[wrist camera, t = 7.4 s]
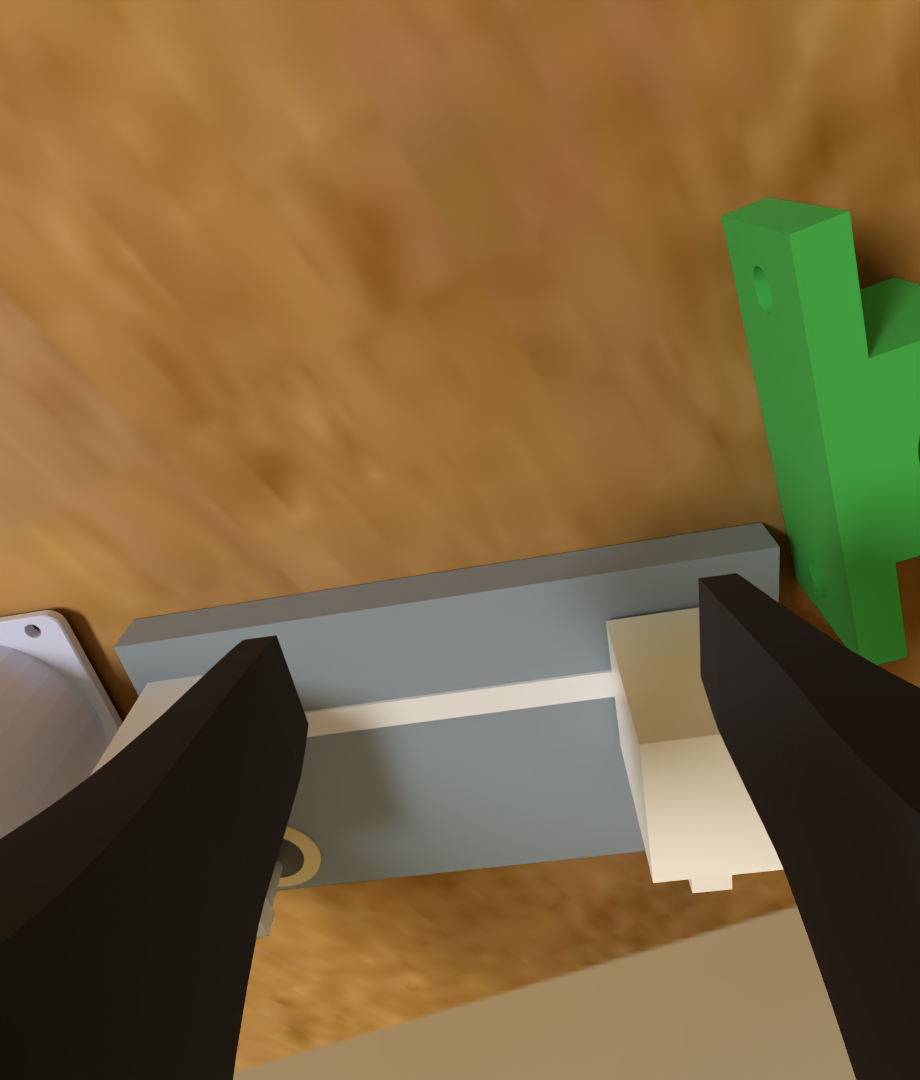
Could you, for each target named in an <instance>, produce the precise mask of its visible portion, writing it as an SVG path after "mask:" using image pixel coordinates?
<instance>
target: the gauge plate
mask: <svg viewBox="0 0 920 1080" xmlns="http://www.w3.org/2000/svg"><path fill="white" fill-rule="evenodd" d="M779 563H780V547H779V545H778V544H777V543H776V541H775V540H774V539H773V537H772V536H771V535H770V533H769V532H768V531H767V529H766V528H765V527H764V526H763V524H762V523H755V524H748V525H742V526H735V527H729V528H723V529H716V530H710V531H703V532H697V533H690V534H684V535H677V536H671V537H664V538H658V539H652V540H645V541H639V542H632V543H626V544H619V545H613V546H606V547H600V548H593V549H587V550H581V551H574V552H568V553H561V554H555V555H548V556H542V557H535V558H529V559H523V560H516V561H510V562H503V563H497V564H490V565H484V566H477V567H471V568H464V569H458V570H452V571H445V572H439V573H432V574H426V575H419V576H413V577H406V578H400V579H394V580H387V581H381V582H374V583H368V584H361V585H355V586H348V587H342V588H335V589H329V590H323V591H316V592H310V593H303V594H297V595H290V596H284V597H277V598H271V599H264V600H258V601H252V602H245V603H239V604H232V605H226V606H219V607H213V608H206V609H200V610H194V611H187V612H181V613H174V614H168V615H161V616H155V617H148V618H142V619H135V620H133V622H132V623H131V624H130V626H129V627H128V628H127V630H126V631H125V633H124V634H123V635H122V637H121V638H120V639H119V641H118V642H117V643H116V645H115V646H114V650H115V652H116V653H117V655H118V657H119V659H120V661H121V663H122V665H123V667H124V669H125V671H126V673H127V675H128V677H129V678H130V680H131V682H132V684H133V686H134V688H135V690H136V692H137V694H138V696H139V697H138V699H137V701H136V702H135V704H134V706H133V707H132V709H131V710H130V712H129V714H128V715H127V717H126V718H125V720H124V722H123V723H122V725H121V726H120V728H119V730H118V731H117V733H116V735H115V736H114V738H113V739H112V741H111V743H110V744H109V746H108V747H107V749H106V751H105V752H104V754H103V755H102V757H101V759H100V760H99V762H98V764H97V765H96V767H95V768H94V770H93V772H92V773H91V775H92V774H93V773H95V772H96V771H97V770H98V769H100V768H101V767H102V766H103V765H105V764H106V763H107V762H108V761H110V760H111V759H112V758H113V757H114V756H116V755H117V754H118V753H119V752H120V751H121V750H122V749H124V748H125V747H126V746H127V745H128V744H129V743H130V742H132V741H133V740H134V739H135V738H136V737H137V736H138V735H140V734H141V733H142V732H143V731H144V730H145V729H146V728H148V727H149V726H150V725H151V724H152V723H153V722H154V721H156V720H157V719H158V718H159V717H160V716H161V715H162V714H163V713H164V712H166V711H167V710H168V709H169V708H170V707H171V706H172V705H173V704H174V703H175V702H176V701H177V700H178V699H179V698H180V697H181V696H183V695H184V694H185V693H186V692H187V691H188V690H189V689H190V688H191V687H192V686H193V685H194V684H195V683H196V682H197V681H198V680H199V679H200V678H202V677H203V676H204V675H205V674H206V673H207V672H208V671H209V670H210V669H211V668H212V667H213V666H214V665H215V664H216V663H217V662H218V661H219V660H221V659H222V658H223V657H224V656H225V655H226V654H227V653H228V652H229V651H230V650H231V649H233V648H234V647H235V646H236V645H237V644H239V643H240V642H241V641H242V640H245V639H252V638H260V637H267V636H275V635H277V638H278V641H279V643H280V646H281V649H282V652H283V654H284V657H285V660H286V663H287V666H288V668H289V671H290V674H291V677H292V679H293V682H294V685H295V688H296V690H297V693H298V696H299V699H300V701H301V704H302V707H303V710H304V712H305V715H306V718H307V721H308V724H309V725H308V733H307V740H306V748H305V755H304V761H303V767H302V773H301V778H300V782H299V786H298V789H297V793H296V796H295V800H294V803H293V807H292V810H291V814H290V817H289V821H288V824H287V827H286V831H285V834H284V837H283V841H282V844H281V848H280V851H279V854H278V858H277V861H276V864H275V868H274V871H273V874H272V878H271V881H270V885H269V888H268V891H267V895H266V898H265V902H264V906H263V910H262V914H261V918H260V922H259V926H258V931H257V937H256V939H260V938H262V937H263V936H269V932H270V928H271V924H272V921H273V917H274V911H273V909H272V906H273V902H274V898H275V895H276V891H278V890H288V889H297V888H306V887H315V886H325V885H334V884H343V883H352V882H362V881H371V880H380V879H389V878H399V877H408V876H417V875H427V874H436V873H445V872H454V871H464V870H473V869H482V868H491V867H501V866H510V865H519V864H528V863H538V862H547V861H556V860H566V859H575V858H584V857H593V856H603V855H612V854H621V853H630V852H640V851H645V846H644V842H643V838H642V834H641V830H640V825H639V821H638V817H637V813H636V809H635V804H634V800H633V796H632V792H631V788H630V783H629V779H628V775H627V771H626V767H625V762H624V758H623V754H622V750H621V746H620V737H619V729H618V720H617V712H616V703H615V695H614V687H613V678H612V670H611V661H610V653H609V644H608V636H607V627H606V621H608V620H615V619H622V618H629V617H636V616H643V615H650V614H657V613H664V612H671V611H678V610H685V609H691V608H698V607H699V584H698V578H704V577H712V576H719V575H726V574H734V573H737V574H739V575H740V576H742V577H743V578H745V579H746V580H747V581H749V582H750V583H752V584H753V585H755V586H756V587H757V588H759V589H760V590H762V591H763V592H764V593H766V594H767V595H769V596H770V597H771V598H773V599H774V600H776V601H777V602H778V603H779ZM91 775H90V776H91ZM90 776H89V777H90Z"/></svg>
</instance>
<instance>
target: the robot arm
mask: <svg viewBox="0 0 920 1080" xmlns="http://www.w3.org/2000/svg"><path fill="white" fill-rule="evenodd" d="M698 584H699V628H700V673H701V679H702V682H703V685H704V689H705V692H706V695H707V698H708V701H709V704H710V707H711V710H712V713H713V716H714V719H715V722H716V725H717V728H718V731H719V733H720V735H721V737H722V739H723V741H724V744H725V746H726V748H727V750H728V752H729V754H730V756H731V758H732V761H733V763H734V765H735V767H736V769H737V771H738V773H739V775H740V777H741V779H742V782H743V784H744V786H745V788H746V790H747V792H748V794H749V796H750V798H751V800H752V802H753V804H754V807H755V809H756V811H757V813H758V815H759V817H760V819H761V821H762V823H763V825H764V827H765V829H766V832H767V834H768V836H769V838H770V840H771V842H772V844H773V846H774V848H775V851H776V853H777V855H778V858H779V860H780V862H781V865H782V867H783V869H784V872H785V874H786V876H787V879H788V882H789V885H790V887H791V890H792V893H793V896H794V898H795V901H796V904H797V907H798V909H799V912H800V915H801V918H802V920H803V923H804V926H805V929H806V932H807V934H808V937H809V940H810V943H811V946H812V949H813V951H814V954H815V957H816V960H817V963H818V966H819V969H820V972H821V974H822V977H823V981H824V983H825V986H826V989H827V992H828V995H829V998H830V1001H831V1003H832V1007H833V1010H834V1013H835V1016H836V1019H837V1022H838V1025H839V1028H840V1031H841V1034H842V1037H843V1040H844V1043H845V1046H846V1049H847V1053H848V1056H849V1059H850V1062H851V1064H852V1068H853V1071H854V1074H855V1077H856V1080H920V688H919V687H917V686H915V685H913V684H911V683H909V682H907V681H905V680H903V679H901V678H899V677H897V676H895V675H893V674H892V673H890V672H888V671H886V670H884V669H883V668H881V667H879V666H877V665H876V664H874V663H872V662H870V661H869V660H867V659H865V658H863V657H862V656H860V655H858V654H857V653H855V652H853V651H851V650H850V649H848V648H846V647H845V646H843V645H842V644H840V643H838V642H837V641H835V640H834V639H832V638H830V637H829V636H827V635H826V634H824V633H823V632H821V631H820V630H818V629H816V628H815V627H813V626H812V625H810V624H809V623H807V622H806V621H804V620H803V619H801V618H800V617H799V616H797V615H796V614H794V613H793V612H791V611H790V610H788V609H787V608H786V607H784V606H783V605H781V604H780V603H778V602H777V601H776V600H774V599H773V598H771V597H770V596H769V595H767V594H766V593H764V592H763V591H762V590H760V589H759V588H757V587H756V586H755V585H753V584H752V583H750V582H749V581H747V580H746V579H745V578H743V577H742V576H740V575H739V574H737V573H734V574H726V575H719V576H712V577H704V578H698ZM32 625H35V626H37V627H38V628H39V629H40V630H41V631H40V630H37V629H35V628H34V627H33V626H32ZM122 723H123V722H122V720H121V719H120V717H119V715H118V713H117V711H116V709H115V708H114V706H113V704H112V702H111V700H110V698H109V697H108V695H107V693H106V691H105V689H104V687H103V686H102V684H101V682H100V680H99V678H98V676H97V675H96V673H95V671H94V669H93V667H92V665H91V664H90V662H89V660H88V658H87V656H86V654H85V653H84V651H83V649H82V647H81V645H80V643H79V642H78V640H77V638H76V636H75V634H74V632H73V631H72V629H71V627H70V625H69V623H68V621H67V620H66V619H65V617H64V616H63V615H61V614H60V613H58V612H56V611H53V610H44V611H37V612H31V613H25V614H18V615H12V616H6V617H0V1080H233V1074H234V1067H235V1060H236V1052H237V1046H238V1040H239V1034H240V1028H241V1021H242V1015H243V1009H244V1003H245V997H246V991H247V985H248V979H249V974H250V969H251V963H252V958H253V953H254V947H255V942H256V937H257V931H258V926H259V922H260V918H261V914H262V910H263V906H264V902H265V898H266V895H267V891H268V888H269V885H270V881H271V878H272V874H273V871H274V868H275V864H276V861H277V858H278V854H279V851H280V848H281V844H282V841H283V837H284V834H285V831H286V827H287V824H288V821H289V817H290V814H291V810H292V807H293V803H294V800H295V796H296V793H297V789H298V786H299V782H300V778H301V773H302V767H303V761H304V755H305V748H306V740H307V733H308V725H309V724H308V721H307V718H306V715H305V712H304V710H303V707H302V704H301V701H300V699H299V696H298V693H297V690H296V688H295V685H294V682H293V679H292V677H291V674H290V671H289V668H288V666H287V663H286V660H285V657H284V654H283V652H282V649H281V646H280V643H279V641H278V638H277V635H275V636H267V637H260V638H252V639H245V640H242V641H241V642H240V643H239V644H237V645H236V646H235V647H234V648H233V649H231V650H230V651H229V652H228V653H227V654H226V655H225V656H224V657H223V658H222V659H221V660H219V661H218V662H217V663H216V664H215V665H214V666H213V667H212V668H211V669H210V670H209V671H208V672H207V673H206V674H205V675H204V676H203V677H202V678H200V679H199V680H198V681H197V682H196V683H195V684H194V685H193V686H192V687H191V688H190V689H189V690H188V691H187V692H186V693H185V694H184V695H183V696H181V697H180V698H179V699H178V700H177V701H176V702H175V703H174V704H173V705H172V706H171V707H170V708H169V709H168V710H167V711H166V712H164V713H163V714H162V715H161V716H160V717H159V718H158V719H157V720H156V721H154V722H153V723H152V724H151V725H150V726H149V727H148V728H146V729H145V730H144V731H143V732H142V733H141V734H140V735H138V736H137V737H136V738H135V739H134V740H133V741H132V742H130V743H129V744H128V745H127V746H126V747H125V748H124V749H122V750H121V751H120V752H119V753H118V754H117V755H116V756H114V757H113V758H112V759H111V760H110V761H108V762H107V763H106V764H105V765H103V766H102V767H101V768H100V769H98V770H97V771H96V772H95V773H93V774H92V775H91V773H92V772H93V770H94V768H95V767H96V765H97V764H98V762H99V760H100V759H101V757H102V755H103V754H104V752H105V751H106V749H107V747H108V746H109V744H110V743H111V741H112V739H113V738H114V736H115V735H116V733H117V731H118V730H119V728H120V726H121V725H122ZM90 775H91V776H90ZM89 776H90V777H89Z"/></svg>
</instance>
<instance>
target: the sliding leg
mask: <svg viewBox="0 0 920 1080" xmlns="http://www.w3.org/2000/svg"><path fill="white" fill-rule="evenodd" d="M606 627H607V636H608V644H609V653H610V661H611V670H612V678H613V687H614V695H615V703H616V712H617V720H618V729H619V737H620V746H621V750H622V754H623V758H624V762H625V767H626V771H627V775H628V779H629V783H630V788H631V792H632V796H633V800H634V804H635V809H636V813H637V817H638V821H639V825H640V830H641V834H642V838H643V842H644V846H645V851H646V855H647V859H648V863H649V867H650V872H651V876H652V880H653V883H658V882H668V881H677V880H687V879H689V883H690V886H691V890H692V893H699V892H709V891H719V890H729V889H732V875H736V874H745V873H755V872H765V871H774V870H784V869H783V867H782V865H781V862H780V860H779V858H778V855H777V853H776V851H775V848H774V846H773V844H772V842H771V840H770V838H769V836H768V834H767V832H766V829H765V827H764V825H763V823H762V821H761V819H760V817H759V815H758V813H757V811H756V809H755V807H754V804H753V802H752V800H751V798H750V796H749V794H748V792H747V790H746V788H745V786H744V784H743V782H742V779H741V777H740V775H739V773H738V771H737V769H736V767H735V765H734V763H733V761H732V758H731V756H730V754H729V752H728V750H727V748H726V746H725V744H724V741H723V739H722V737H721V735H720V733H719V731H718V728H717V725H716V722H715V719H714V716H713V713H712V710H711V707H710V704H709V701H708V698H707V695H706V692H705V689H704V685H703V682H702V679H701V673H700V628H699V607H698V608H691V609H685V610H678V611H671V612H664V613H657V614H650V615H643V616H636V617H629V618H622V619H615V620H608V621H606Z"/></svg>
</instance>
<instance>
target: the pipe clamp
mask: <svg viewBox="0 0 920 1080" xmlns="http://www.w3.org/2000/svg"><path fill="white" fill-rule="evenodd" d="M721 218H722V222H723V227H724V232H725V237H726V242H727V247H728V251H729V256H730V261H731V266H732V271H733V276H734V280H735V285H736V290H737V295H738V300H739V304H740V309H741V314H742V319H743V324H744V329H745V333H746V338H747V343H748V348H749V353H750V358H751V362H752V367H753V372H754V377H755V382H756V386H757V391H758V396H759V401H760V406H761V411H762V415H763V420H764V425H765V430H766V435H767V440H768V444H769V449H770V454H771V459H772V464H773V468H774V473H775V478H776V483H777V488H778V493H779V497H780V502H781V507H782V512H783V517H784V522H785V526H786V531H787V536H788V541H789V546H790V550H791V555H792V560H793V565H794V570H795V575H796V579H797V582H798V583H799V585H800V586H801V587H802V589H803V590H804V591H805V593H806V594H807V595H808V597H809V598H810V599H811V601H812V602H813V603H814V605H815V606H816V607H817V609H818V610H819V611H820V613H821V614H822V615H823V617H824V618H825V620H826V621H827V622H828V624H829V625H830V626H831V628H832V629H833V630H834V632H835V633H836V634H837V636H838V637H839V638H840V640H841V641H842V642H843V644H844V645H845V646H846V648H848V649H850V650H851V651H853V652H855V653H857V654H858V655H860V656H862V657H863V658H865V659H867V660H869V661H870V662H872V663H874V664H876V665H880V664H884V663H888V662H891V661H895V660H899V659H902V658H906V657H908V655H907V647H906V639H905V632H904V624H903V616H902V609H901V601H900V593H899V586H898V578H897V570H896V563H897V562H900V561H904V560H907V559H910V558H914V557H917V556H920V440H919V437H920V285H918V284H915V283H912V282H908V281H905V280H902V279H899V278H895V277H893V278H890V279H887V280H885V281H882V282H879V283H877V284H874V285H871V286H868V287H866V288H863V289H860V287H859V279H858V272H857V264H856V256H855V249H854V241H853V233H852V226H851V218H850V211H847V210H841V209H834V208H828V207H822V206H816V205H810V204H804V203H798V202H791V201H785V200H779V199H773V198H765V199H763V200H760V201H758V202H755V203H753V204H750V205H748V206H745V207H743V208H740V209H738V210H736V211H733V212H731V213H728V214H726V215H723V216H721Z"/></svg>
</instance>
